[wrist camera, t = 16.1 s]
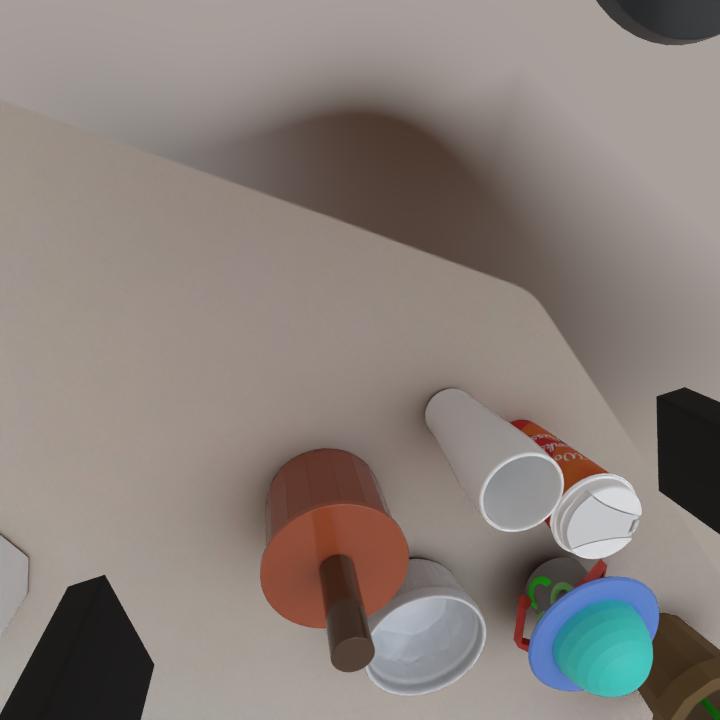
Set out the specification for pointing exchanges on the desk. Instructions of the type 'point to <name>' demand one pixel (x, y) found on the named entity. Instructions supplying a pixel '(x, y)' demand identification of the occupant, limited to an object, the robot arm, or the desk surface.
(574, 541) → the paper cup
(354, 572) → the lid
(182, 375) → the desk surface
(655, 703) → the flowerpot
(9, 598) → the cup
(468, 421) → the white plastic tumbler
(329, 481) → the jar
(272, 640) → the desk surface
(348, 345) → the desk surface
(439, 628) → the ramekin
